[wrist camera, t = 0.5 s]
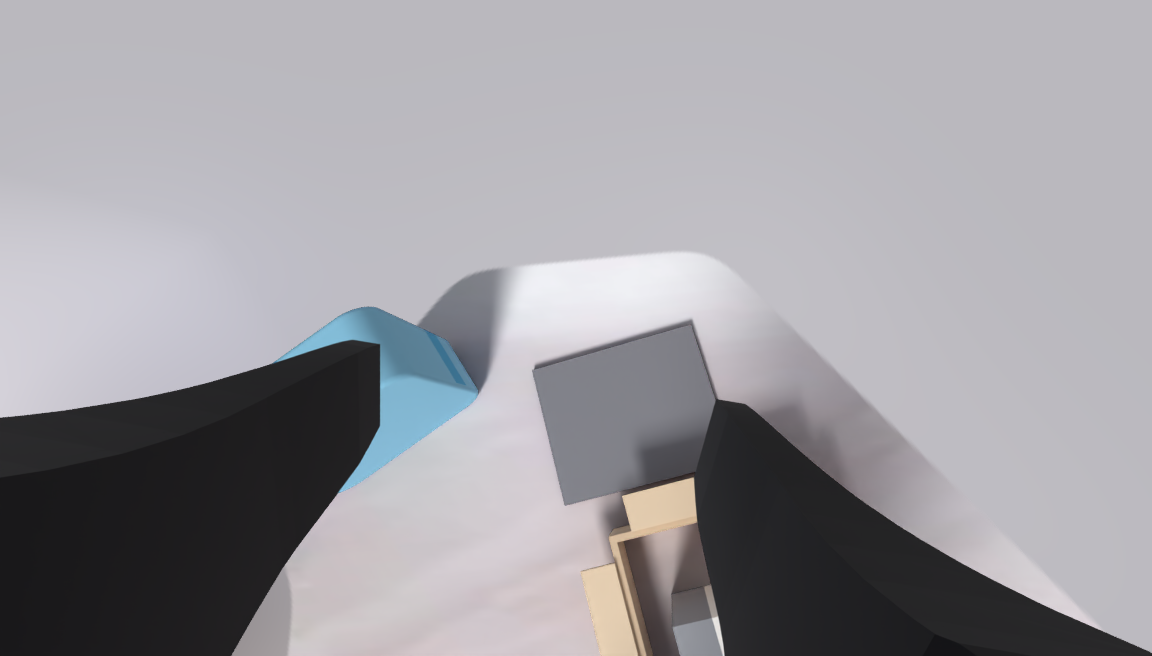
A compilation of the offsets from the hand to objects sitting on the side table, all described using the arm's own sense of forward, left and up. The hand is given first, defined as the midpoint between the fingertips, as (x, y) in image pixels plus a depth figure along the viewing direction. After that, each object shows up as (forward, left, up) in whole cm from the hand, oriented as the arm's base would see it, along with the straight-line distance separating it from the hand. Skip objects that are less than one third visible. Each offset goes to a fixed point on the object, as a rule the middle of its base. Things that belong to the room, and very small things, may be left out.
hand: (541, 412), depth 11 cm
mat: (+1, -1, -24) cm, 24 cm away
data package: (+5, +15, -24) cm, 29 cm away
